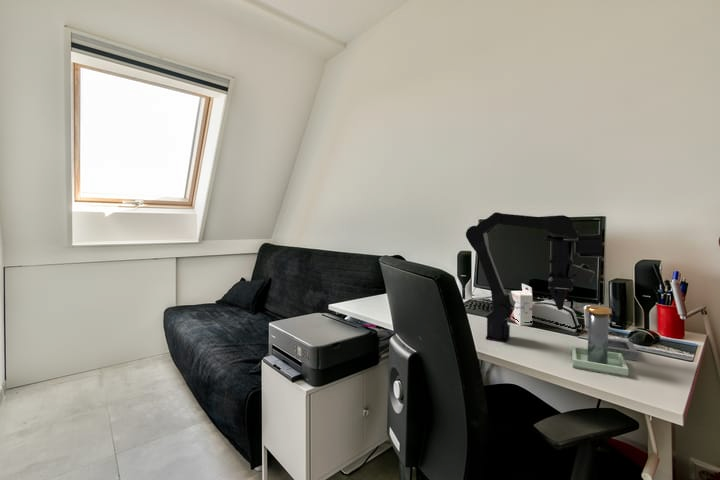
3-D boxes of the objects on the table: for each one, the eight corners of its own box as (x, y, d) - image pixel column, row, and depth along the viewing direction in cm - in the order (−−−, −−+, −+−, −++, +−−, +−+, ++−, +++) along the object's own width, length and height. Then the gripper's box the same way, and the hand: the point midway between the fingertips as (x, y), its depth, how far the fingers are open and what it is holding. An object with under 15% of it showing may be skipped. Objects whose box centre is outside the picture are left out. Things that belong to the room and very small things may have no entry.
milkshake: (604, 332, 117) (604, 304, 117) (588, 332, 117) (589, 304, 117) (595, 328, 122) (595, 301, 121) (580, 328, 122) (580, 301, 121)
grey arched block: (583, 329, 121) (578, 305, 119) (575, 336, 119) (570, 311, 117) (539, 318, 135) (534, 296, 133) (532, 323, 133) (527, 301, 131)
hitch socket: (595, 354, 98) (596, 346, 98) (593, 344, 106) (593, 336, 106) (637, 361, 93) (637, 352, 93) (631, 349, 101) (631, 341, 101)
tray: (573, 367, 89) (573, 359, 89) (571, 353, 99) (571, 346, 99) (628, 377, 83) (628, 369, 83) (620, 361, 93) (621, 353, 93)
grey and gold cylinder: (581, 361, 92) (582, 307, 91) (590, 356, 95) (591, 304, 94) (604, 368, 87) (606, 311, 86) (613, 363, 90) (615, 308, 89)
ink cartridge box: (509, 319, 135) (510, 283, 134) (522, 319, 135) (522, 283, 134) (519, 325, 126) (520, 287, 126) (532, 325, 126) (533, 287, 125)
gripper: (595, 260, 90) (594, 317, 90) (590, 254, 106) (589, 303, 106) (548, 258, 96) (547, 312, 96) (550, 253, 111) (549, 299, 112)
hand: (560, 306), depth 103 cm, fingers open, 9 cm apart
